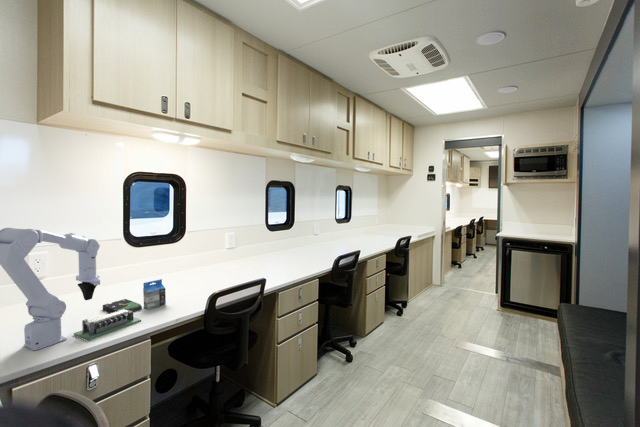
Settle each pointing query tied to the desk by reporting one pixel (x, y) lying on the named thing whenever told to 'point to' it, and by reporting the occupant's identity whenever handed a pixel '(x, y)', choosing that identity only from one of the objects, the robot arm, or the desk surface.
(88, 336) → the board
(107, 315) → the strap
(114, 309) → the disk drive
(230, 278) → the desk surface
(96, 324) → the heat sink
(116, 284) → the desk surface
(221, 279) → the desk surface
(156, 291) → the label tape box
